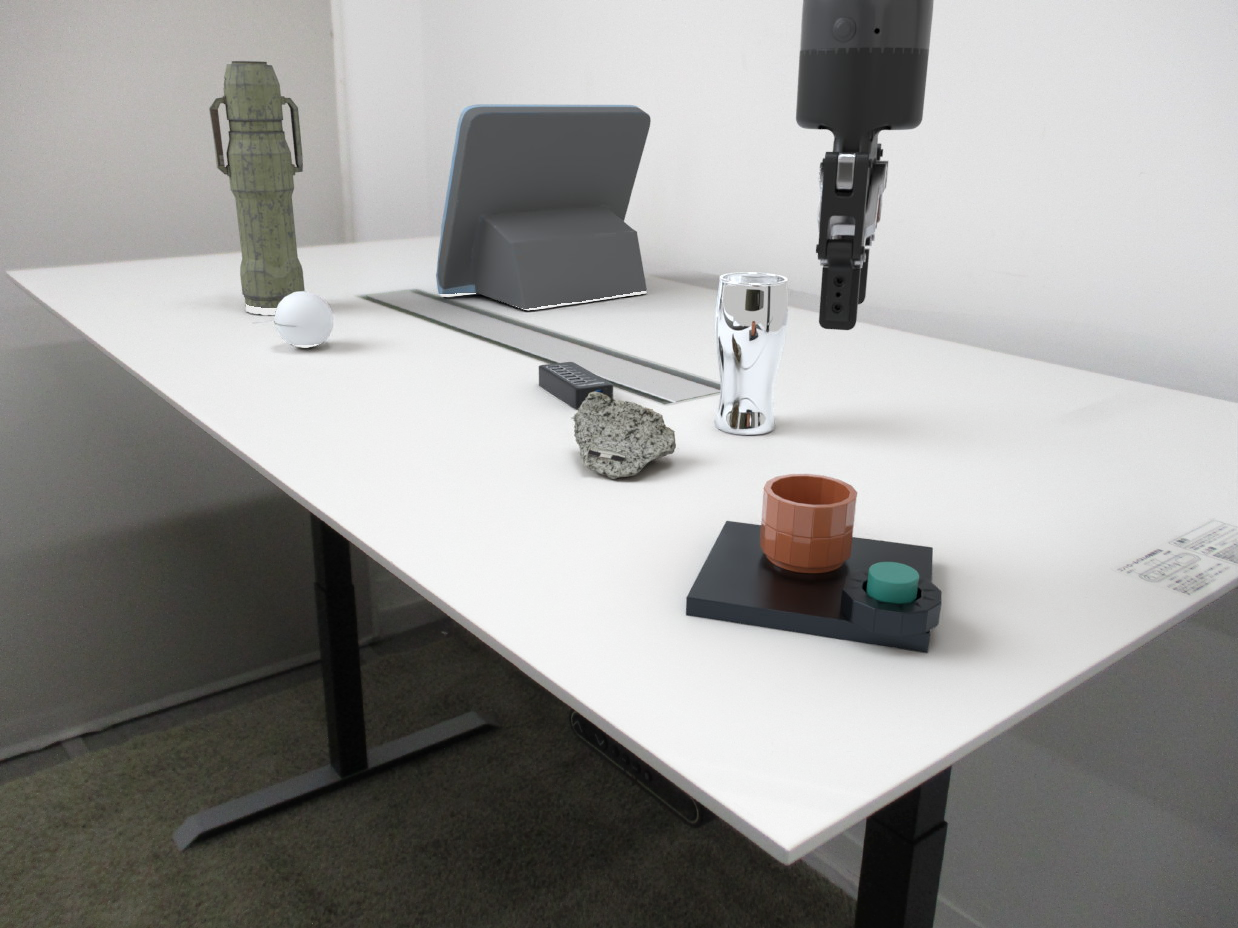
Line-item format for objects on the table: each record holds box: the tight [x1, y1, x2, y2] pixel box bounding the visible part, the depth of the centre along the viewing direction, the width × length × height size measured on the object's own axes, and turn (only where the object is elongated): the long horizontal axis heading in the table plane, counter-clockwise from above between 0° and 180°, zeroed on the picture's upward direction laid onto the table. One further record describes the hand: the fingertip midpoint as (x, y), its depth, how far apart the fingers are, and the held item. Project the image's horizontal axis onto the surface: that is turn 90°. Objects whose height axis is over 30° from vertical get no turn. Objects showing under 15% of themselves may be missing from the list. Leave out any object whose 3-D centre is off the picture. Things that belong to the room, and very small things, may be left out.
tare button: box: [867, 562, 919, 604], centre depth 62 cm, size 3×3×2 cm
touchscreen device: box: [435, 103, 652, 309], centre depth 162 cm, size 35×20×30 cm, turn 130°
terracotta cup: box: [760, 473, 858, 573], centre depth 69 cm, size 6×6×5 cm
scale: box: [685, 520, 943, 654], centre depth 68 cm, size 15×14×3 cm
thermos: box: [208, 60, 306, 308], centre depth 147 cm, size 9×12×35 cm
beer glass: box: [714, 271, 789, 436], centre depth 100 cm, size 7×7×15 cm
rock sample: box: [570, 392, 679, 480], centre depth 90 cm, size 10×8×9 cm
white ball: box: [252, 290, 334, 345], centre depth 129 cm, size 10×7×7 cm
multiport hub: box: [538, 361, 614, 410], centre depth 112 cm, size 4×11×2 cm, turn 27°
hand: (843, 315), depth 65 cm, fingers open, 8 cm apart
